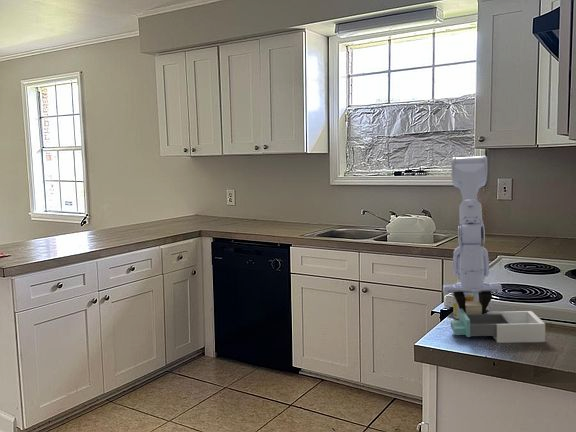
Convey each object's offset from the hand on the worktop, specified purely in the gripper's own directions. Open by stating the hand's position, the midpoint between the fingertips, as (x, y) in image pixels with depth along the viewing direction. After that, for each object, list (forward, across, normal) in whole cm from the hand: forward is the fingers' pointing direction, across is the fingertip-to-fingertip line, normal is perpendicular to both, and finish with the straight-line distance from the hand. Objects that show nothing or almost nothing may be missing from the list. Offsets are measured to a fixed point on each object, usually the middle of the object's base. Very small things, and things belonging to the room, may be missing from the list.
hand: (472, 319), depth 143 cm
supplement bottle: (+2, -1, +6) cm, 7 cm away
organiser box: (+2, +8, -8) cm, 12 cm away
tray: (0, 0, -8) cm, 8 cm away
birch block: (+2, 0, 0) cm, 2 cm away
